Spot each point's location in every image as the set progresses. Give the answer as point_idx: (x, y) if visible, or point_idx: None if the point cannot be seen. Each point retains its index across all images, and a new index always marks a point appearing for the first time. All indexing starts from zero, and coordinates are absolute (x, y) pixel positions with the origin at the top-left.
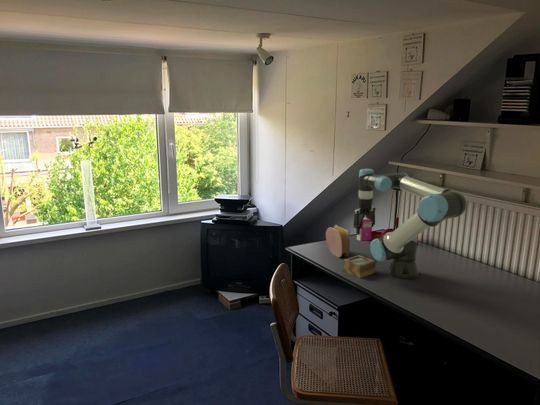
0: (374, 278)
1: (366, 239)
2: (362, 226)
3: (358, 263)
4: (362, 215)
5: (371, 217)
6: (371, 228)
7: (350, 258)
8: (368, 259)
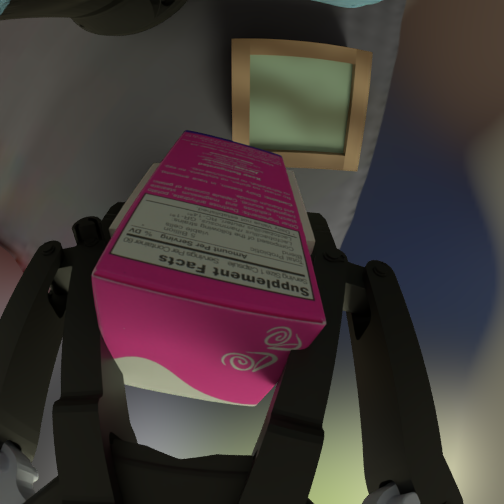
0: (296, 5)
1: (236, 144)
2: (307, 253)
3: (331, 89)
4: (315, 456)
5: (43, 350)
6: (105, 224)
7: (317, 158)
8: (247, 81)
